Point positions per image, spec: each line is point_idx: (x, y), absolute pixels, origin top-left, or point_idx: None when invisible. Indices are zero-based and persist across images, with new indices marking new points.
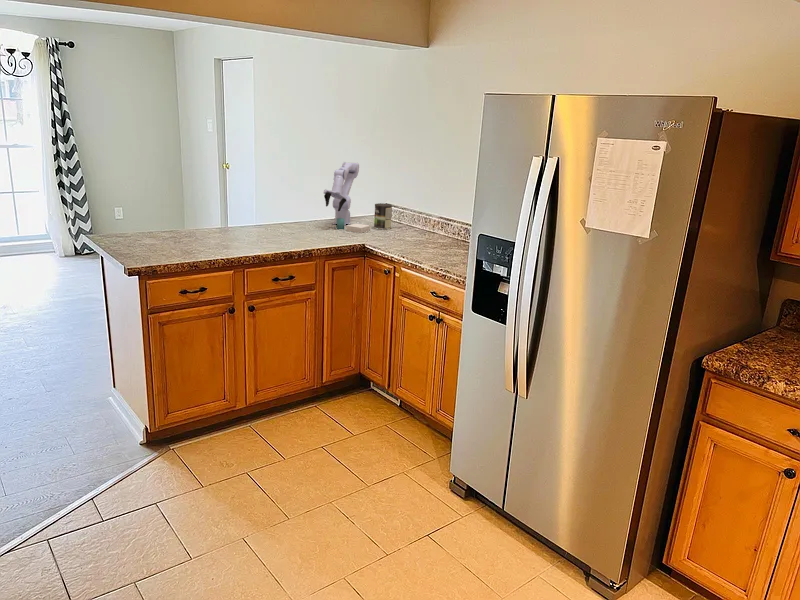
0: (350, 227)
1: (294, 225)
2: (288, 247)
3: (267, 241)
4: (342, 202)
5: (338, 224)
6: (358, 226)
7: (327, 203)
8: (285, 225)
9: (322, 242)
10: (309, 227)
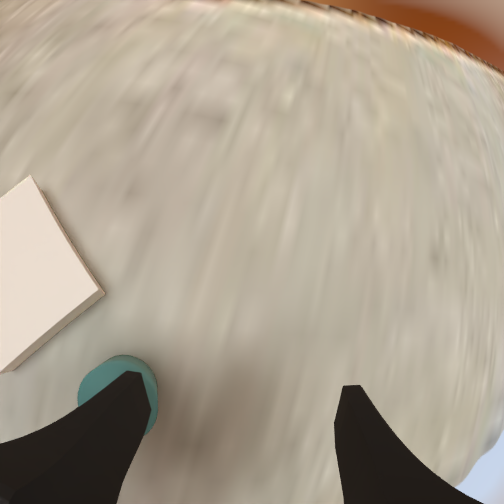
0: (77, 256)
1: None
2: (423, 62)
3: (478, 147)
4: (54, 447)
5: (147, 372)
6: (19, 236)
7: (367, 398)
8: None
9: (335, 57)
10: None
